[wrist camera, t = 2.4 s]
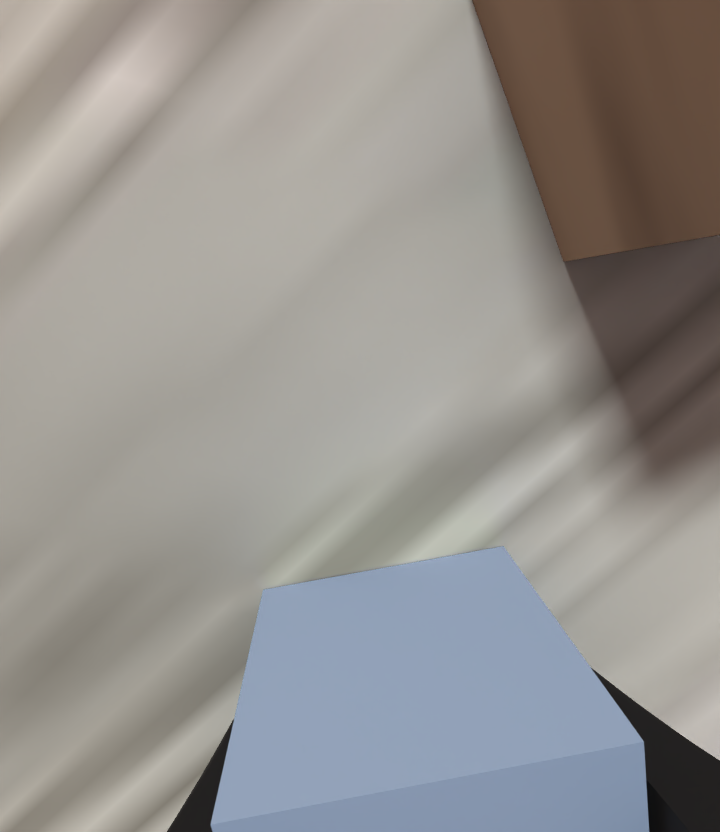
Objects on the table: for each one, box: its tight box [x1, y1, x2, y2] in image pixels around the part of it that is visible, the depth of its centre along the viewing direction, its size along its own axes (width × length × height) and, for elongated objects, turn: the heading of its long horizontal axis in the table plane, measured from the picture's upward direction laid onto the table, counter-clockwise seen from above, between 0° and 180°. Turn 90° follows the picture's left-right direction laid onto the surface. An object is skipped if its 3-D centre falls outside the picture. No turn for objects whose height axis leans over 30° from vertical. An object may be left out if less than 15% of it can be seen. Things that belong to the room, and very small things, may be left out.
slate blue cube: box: [211, 546, 649, 832], centre depth 9 cm, size 5×5×5 cm
